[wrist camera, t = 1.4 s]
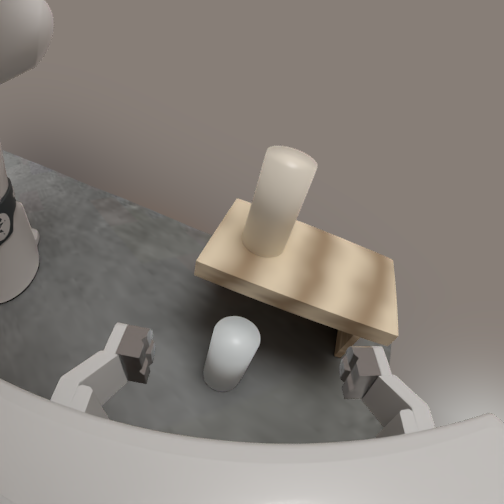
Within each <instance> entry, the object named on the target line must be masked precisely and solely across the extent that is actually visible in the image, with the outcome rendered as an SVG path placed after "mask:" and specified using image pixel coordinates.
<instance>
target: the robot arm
mask: <svg viewBox="0 0 504 504" xmlns="http://www.w3.org/2000/svg"><path fill="white" fill-rule="evenodd" d="M53 29H54V20H53V14H52V11H51V9H50V7H49V5H48V4H47V2H46V1H45V0H0V84H2V83H5V82H7V81H9V80H11V79H12V78H15V77H17V76H19V75H21V74H23V73H25V72H27V71H29V70H31V69H34V68H35V67H36V66H37V65H38V63H39V62H40V61H41V59H42V58H43V57H44V55H45V53H46V51H47V49H48V47H49V45H50V42H51V39H52V36H53ZM14 195H15V194H14V189H13V187H12V184H11V181H10V179H9V178H8V177H7V174H6V169H5V164H4V159H3V153H2V148H1V141H0V303H3V302H6V301H8V300H10V299H12V298H14V297H16V296H17V295H18V294H20V293H21V292H22V291H23V290H24V289H25V288H26V287H27V286H28V285H29V284H30V282H31V281H32V280H33V278H34V276H35V274H36V272H37V269H38V266H39V253H38V248H37V245H38V242H39V238H40V235H39V233H38V231H37V230H36V229H33V228H31V226H30V224H29V221H28V218H27V215H26V213H25V210H24V207H23V205H22V203H21V202H18V201H16V200H15V196H14ZM152 337H153V332H152V329H149V328H143V327H138V326H133V325H128V324H123V323H117V324H116V325H115V326H114V329H113V331H112V333H111V335H110V337H109V339H108V342H107V344H106V346H105V348H104V351H99V352H97V353H96V354H94V355H93V356H91V357H90V358H89V359H87V360H86V361H84V362H83V363H81V364H80V365H78V366H77V367H75V368H74V369H72V370H71V371H69V372H68V373H66V374H65V375H63V376H62V377H61V378H60V380H59V382H58V384H57V387H56V389H55V391H54V393H53V396H52V398H51V400H48V399H45V398H43V397H40V396H38V395H35V394H33V393H31V392H28V391H26V390H24V389H22V388H19V387H17V386H15V385H13V384H11V383H9V382H6V381H4V380H2V379H0V504H504V422H503V421H502V420H500V419H499V418H498V417H497V416H495V415H494V414H492V413H487V414H484V415H481V416H477V417H474V418H471V419H467V420H464V421H460V422H457V423H453V424H449V425H445V426H440V427H436V428H435V425H434V422H433V419H432V416H431V412H430V409H429V406H428V405H427V404H426V403H425V402H424V401H423V400H422V399H420V397H418V396H417V395H416V394H415V393H414V392H413V391H412V390H411V389H410V388H409V387H408V386H406V385H405V384H404V383H403V382H402V381H401V380H400V379H399V378H398V377H396V375H392V373H391V370H390V367H389V364H388V361H387V358H386V355H385V352H384V350H383V348H382V346H350V347H348V348H347V350H346V355H347V356H345V357H344V358H342V360H341V362H340V367H339V375H340V379H341V380H342V381H343V382H344V384H343V386H342V391H343V396H344V399H362V401H363V402H364V404H365V405H366V406H367V407H368V409H369V410H370V411H371V412H372V414H373V415H374V416H375V417H376V419H377V420H378V421H379V422H380V424H381V425H382V426H383V427H384V428H383V429H382V430H381V431H380V432H379V433H378V434H377V435H376V438H374V439H366V440H356V441H345V442H330V443H305V444H276V443H251V442H236V441H224V440H215V439H206V438H198V437H191V436H184V435H178V434H172V433H166V432H161V431H156V430H151V429H146V428H141V427H137V426H132V425H128V424H124V423H120V422H116V421H113V420H109V419H108V416H107V414H106V413H105V411H104V409H103V408H102V405H103V404H104V403H105V402H106V401H107V400H108V399H109V398H111V397H112V396H113V395H114V394H115V393H116V392H117V391H118V390H119V389H120V388H121V387H122V386H124V385H125V384H126V383H127V382H128V381H133V382H138V383H144V384H147V381H148V377H149V374H150V368H149V365H151V364H152V363H153V360H154V356H155V342H154V341H153V340H152ZM127 380H128V381H127Z"/></svg>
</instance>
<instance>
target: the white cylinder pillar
mask: <svg viewBox="0 0 504 504" xmlns="http://www.w3.org/2000/svg"><path fill="white" fill-rule="evenodd" d="M259 345H260V333H259V331H258V329H257V327H256V326H255V325H254V324H253V323H252V322H251V321H249V320H248V319H246V318H243V317H239V316H229V317H225V318H223V319H221V320H220V321H219V322H218V323H217V324H216V326H215V328H214V331H213V334H212V338H211V342H210V346H209V350H208V354H207V358H206V362H205V366H204V370H203V378H204V380H205V382H206V384H207V385H208V386H209V387H210V388H212V389H213V390H215V391H219V392H227V391H230V390H232V389H234V388H235V387H236V386H237V385H238V383H239V381H240V380H241V378H242V376H243V374H244V372H245V371H246V369H247V367H248V365H249V363H250V362H251V360H252V358H253V356H254V354H255V352H256V351H257V349H258V347H259Z"/></svg>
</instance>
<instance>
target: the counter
mask: <svg viewBox="0 0 504 504" xmlns="http://www.w3.org/2000/svg"><path fill="white" fill-rule="evenodd" d="M250 207H251V203H249V202H246V201H244V200H241V199H238V198H237V199H236V201H235V203H234V204H233V205H232V207H231V208H230V210H229V211H228V213H227V214H226V216H225V217H224V219H223V220H222V222H221V223H220V225H219V226H218V228H217V230H216V231H215V233H214V234H213V236H212V237H211V239H210V240H209V242H208V243H207V245H206V246H205V248H204V249H203V251H202V253H201V254H200V256H199V257H198V259H197V260H196V266H195V273H194V275H195V276H198V277H200V278H203V279H205V280H208V281H210V282H213V283H215V284H218V285H220V286H223V287H225V288H228V289H230V290H233V291H235V292H238V293H240V294H243V295H245V296H248V297H251V298H253V299H256V300H258V301H261V302H264V303H266V304H269V305H272V306H274V307H277V308H280V309H282V310H285V311H288V312H290V313H293V314H296V315H299V316H301V317H304V318H307V319H310V320H312V321H315V322H318V323H321V324H324V325H326V326H329V327H332V328H335V329H338V332H337V339H336V347H335V354H334V356H336V357H339V358H341V357H342V356H343V355H344V354H345V353H346V350H347V348H348V347H350V346H352V345H353V344H354V343H355V342H356V341H357V340H358V339H359V338H360V337H361V338H364V339H367V340H370V341H373V342H376V343H379V344H382V345H385V346H389V345H390V344H391V343H392V342H393V341H394V340H395V339H396V338H397V337H398V315H397V300H396V287H395V277H394V266H393V260H392V259H390V258H388V257H385V256H383V255H381V254H378V253H376V252H373V251H371V250H369V249H367V248H364V247H362V246H359V245H357V244H355V243H352V242H350V241H347V240H345V239H342V238H340V237H337V236H335V235H332V234H330V233H328V232H325V231H322V230H320V229H317V228H315V227H312V226H310V225H307V224H305V223H302V222H299V221H297V220H296V222H295V224H294V227H293V229H292V232H291V234H290V236H289V239H288V241H287V244H286V246H285V248H284V251H283V252H282V253H281V254H280V255H279V256H276V257H271V258H267V257H261V256H258V255H256V254H254V253H252V252H250V251H249V250H248V249H247V248H246V247H245V246H244V244H243V242H242V235H243V231H244V228H245V224H246V221H247V217H248V214H249V210H250Z"/></svg>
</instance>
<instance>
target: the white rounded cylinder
mask: <svg viewBox="0 0 504 504" xmlns="http://www.w3.org/2000/svg"><path fill="white" fill-rule="evenodd" d="M317 167H318V166H317V163H316V161H315V160H314V159H313V158H312V157H310V156H309V155H307V154H306V153H304V152H302V151H299V150H297V149H294V148H291V147H286V146H272V147H269V148H268V149H267V152H266V155H265V158H264V162H263V166H262V169H261V173H260V176H259V179H258V183H257V186H256V190H255V193H254V196H253V200H252V203H251V207H250V210H249V214H248V217H247V221H246V224H245V228H244V231H243V235H242V242H243V244H244V246H245V247H246V248H247V249H248V250H249V251H250V252H252V253H254V254H256V255H258V256H261V257H267V258H271V257H276V256H279V255H280V254H281V253H282V252H283V251H284V248H285V246H286V244H287V241H288V239H289V236H290V234H291V232H292V229H293V227H294V224H295V222H296V219H297V217H298V215H299V212H300V210H301V207H302V205H303V202H304V200H305V197H306V195H307V192H308V190H309V187H310V185H311V182H312V179H313V177H314V175H315V172H316V170H317Z"/></svg>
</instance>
